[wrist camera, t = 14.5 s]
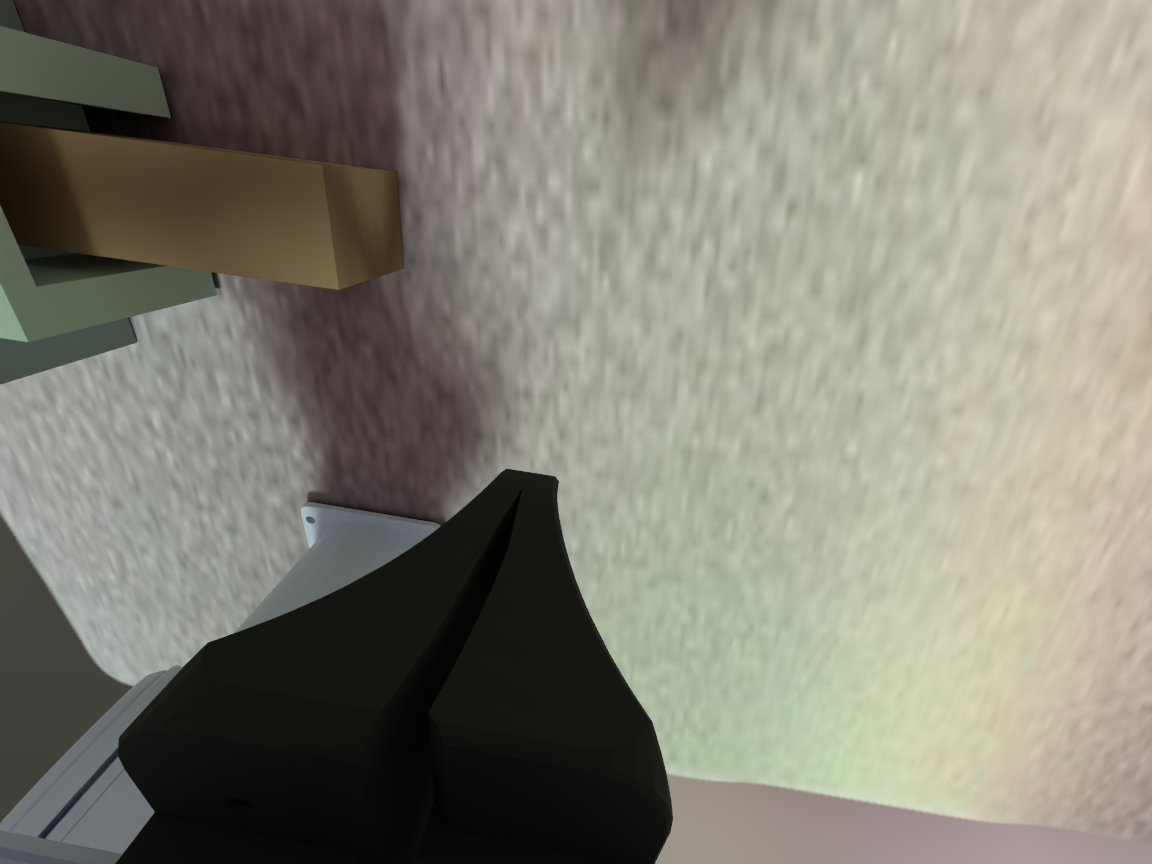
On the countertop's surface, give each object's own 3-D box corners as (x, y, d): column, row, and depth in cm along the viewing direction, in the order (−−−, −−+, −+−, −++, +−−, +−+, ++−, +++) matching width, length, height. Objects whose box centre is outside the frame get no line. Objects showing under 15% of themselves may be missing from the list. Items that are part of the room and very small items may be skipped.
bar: (406, 267, 19) (339, 289, 14) (134, 229, 19) (-12, 240, 15) (399, 171, 17) (322, 164, 13) (102, 132, 18) (-72, 113, 13)
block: (216, 295, 20) (28, 342, 14) (109, 278, 20) (-126, 318, 14) (157, 67, 16) (-142, -12, 10) (24, 49, 16) (-353, -40, 10)
